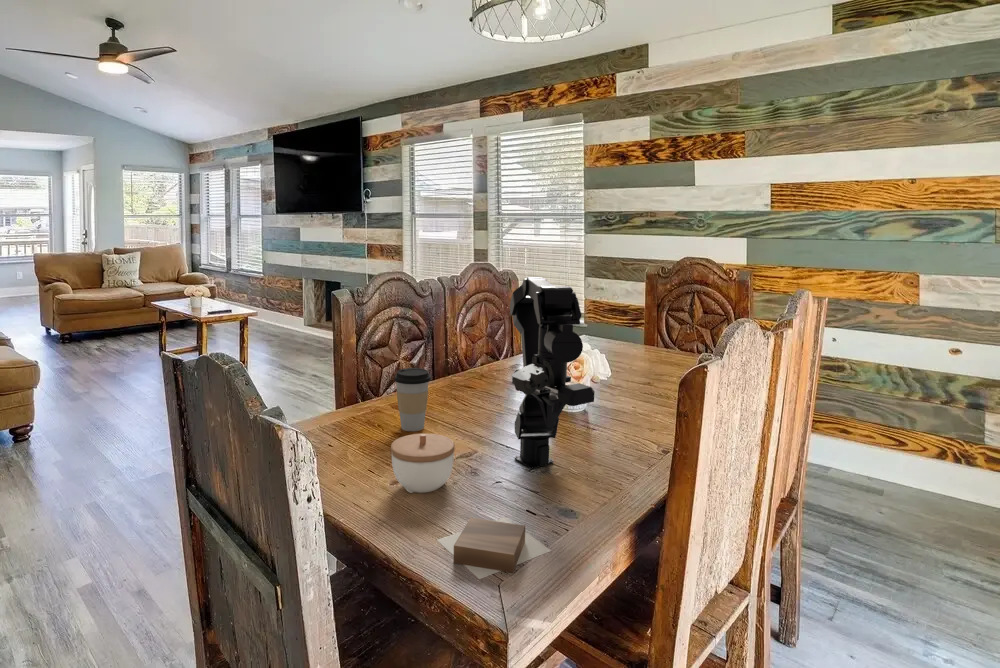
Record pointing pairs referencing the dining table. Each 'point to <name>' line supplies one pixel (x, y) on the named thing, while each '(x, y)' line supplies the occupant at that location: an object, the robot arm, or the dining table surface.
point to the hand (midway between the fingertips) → (549, 427)
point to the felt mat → (528, 552)
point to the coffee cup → (412, 397)
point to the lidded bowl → (422, 461)
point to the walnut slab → (490, 545)
